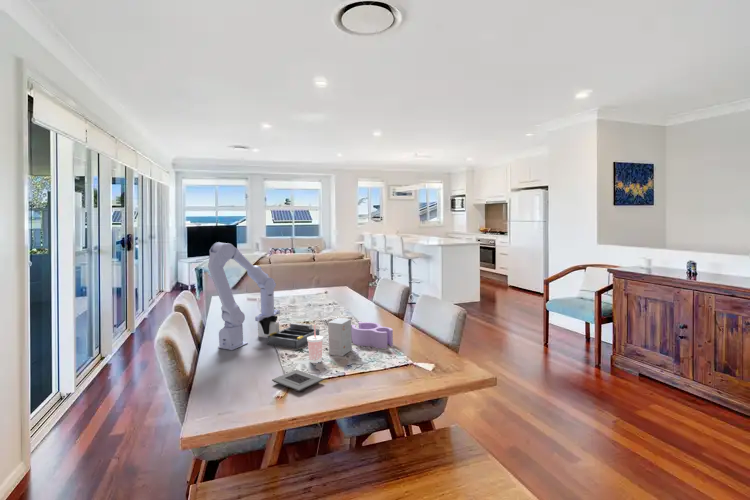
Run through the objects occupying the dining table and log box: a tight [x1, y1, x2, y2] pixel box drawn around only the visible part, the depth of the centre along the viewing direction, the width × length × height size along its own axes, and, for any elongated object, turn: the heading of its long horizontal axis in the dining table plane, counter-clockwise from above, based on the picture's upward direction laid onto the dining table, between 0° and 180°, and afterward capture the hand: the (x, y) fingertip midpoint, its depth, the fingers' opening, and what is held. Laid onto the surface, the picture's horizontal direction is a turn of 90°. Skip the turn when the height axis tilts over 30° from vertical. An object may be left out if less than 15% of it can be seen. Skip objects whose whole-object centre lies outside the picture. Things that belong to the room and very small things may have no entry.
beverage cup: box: [307, 324, 324, 364], centre depth 154 cm, size 6×6×14 cm
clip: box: [351, 321, 394, 349], centre depth 175 cm, size 20×12×7 cm, turn 50°
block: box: [257, 321, 280, 339], centre depth 185 cm, size 2×10×7 cm, turn 65°
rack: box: [267, 321, 320, 350], centre depth 179 cm, size 17×15×6 cm
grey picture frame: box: [271, 369, 324, 392], centre depth 134 cm, size 13×10×2 cm
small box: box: [327, 317, 353, 357], centre depth 163 cm, size 8×6×13 cm
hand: (268, 333), depth 185 cm, fingers closed on block, 2 cm apart
